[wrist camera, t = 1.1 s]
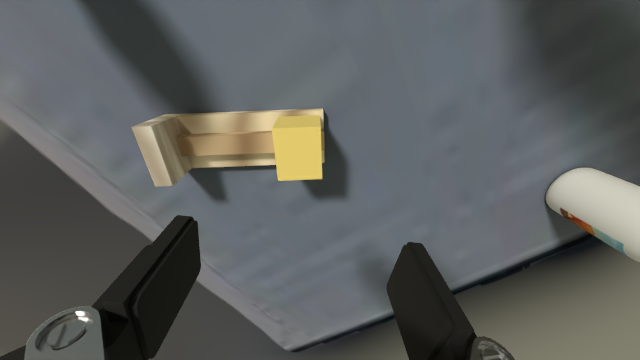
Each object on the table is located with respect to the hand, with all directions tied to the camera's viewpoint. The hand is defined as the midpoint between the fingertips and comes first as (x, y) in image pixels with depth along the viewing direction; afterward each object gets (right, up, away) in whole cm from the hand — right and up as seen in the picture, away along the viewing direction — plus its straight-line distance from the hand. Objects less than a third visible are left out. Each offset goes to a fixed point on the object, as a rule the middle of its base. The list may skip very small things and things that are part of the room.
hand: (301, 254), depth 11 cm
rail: (-9, +9, +21) cm, 24 cm away
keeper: (-2, +9, +20) cm, 21 cm away
